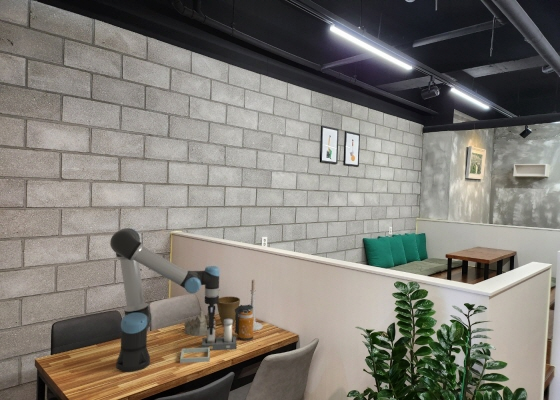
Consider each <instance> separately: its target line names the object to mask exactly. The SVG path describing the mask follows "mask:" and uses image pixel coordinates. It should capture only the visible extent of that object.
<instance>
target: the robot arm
mask: <svg viewBox="0 0 560 400" xmlns="http://www.w3.org/2000/svg"><path fill="white" fill-rule="evenodd" d="M109 243H110V248H111V250H112V251H113V252H115V256H116V257H115V258H117V259H119V263H120V269H121V275H122V281H123V288H124V289H123V290H124V295H125V296H124V297H125V302H126V306H125V307H124V309H123V310H124V316H122V319H121V321H120V351H119V354H118V357H117V360H116V366H115V367H116V369H117V370H118V371H120V372H124V373H126V372H127V373H129V372H132V373H133V372H138V371H141V370H144V369H146V368H147V367H149V366H150V364H151V356H150V353H149V349H148V348H147V347H148V346H147V342H148V337H147V336H148V330H149V327H150V324H151V322H152V313H151V312H150V309H149V303H147V302H146V301H145V295H144V289H143V281H142V277H141V276H142V275H141V270H140V269H141V268H140V265H142V266H145V267H146V268H148V269H150V270H151V271H154V272H155V273H156V274H158V275H160V276H162V277H164V278H165V279H168V280H169V281H171V282H173V283H174V284H177V285H178V286H180V287H182V288H183V289H185V291H186V292H187V293H189V294H196V293H198V292H199V291H200V289H201V286H204V304H205V305H207V311H208V312H207V314H208V315H209V327H207V328H209V331H208V341H209V340H214V320H216V319H215V318H216V317H215V315H216V305H217V303H218V302H219V298H220V296H219V295H220V291H221V289H220V268H219V266H215V265H208V266H206V267H205V269H204V270H185V269H184V268H183V267H180V266H178V265H176V264H174V263H173V262H171V261H169V260H168V259H167V258H164V257H163V256H161V255H159V254H157V253H156V252H154V251H152V250H151V249H148V248H147V247H145V246H144V245H143V243H142V242H141V237H140V234H139V232H137V230H135V229H134V228H130V227H126V228H125V227H124V228H122V229H120V230H118V231H116V232H115V233H114V234H112V236H111V237H110V241H109ZM210 325H212V326H210Z"/></svg>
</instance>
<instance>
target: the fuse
mask: <svg viewBox="0 0 560 400" xmlns="http://www.w3.org/2000/svg"><path fill="white" fill-rule="evenodd" d="M232 324H233V320H232V319H224V326H223V337H224V342H232V337H233V326H232Z"/></svg>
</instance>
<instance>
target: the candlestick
mask: <svg viewBox="0 0 560 400" xmlns="http://www.w3.org/2000/svg"><path fill="white" fill-rule="evenodd" d="M255 288H256V280H255V279H251V290H250V294H251V298H250V300H251V301H250V305H251V306H253V308H251V310H250V311H252V313H253V317H254V329H253V332H255V331H259V330H262V329H263V324H262V323H260V322H258V321H256V306H255V305H256V301H255V299H256V298H255V295H256V289H255Z"/></svg>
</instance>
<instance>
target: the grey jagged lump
mask: <svg viewBox="0 0 560 400" xmlns="http://www.w3.org/2000/svg"><path fill="white" fill-rule="evenodd" d="M207 320H209V315H208V313H207V314H206V315H205V313H204V312H203V311H202V310H201V311H200V312H199V315H197V316H196V317H195V318H191V317H188V319H186V320H185V322H184V324H183V326H184V335H189V336H195V337H203V336H207Z"/></svg>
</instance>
